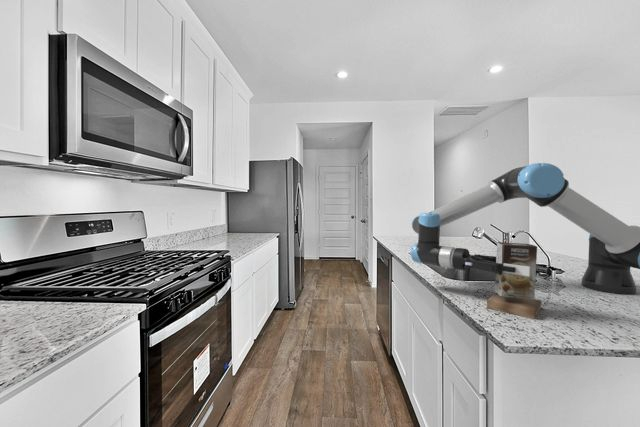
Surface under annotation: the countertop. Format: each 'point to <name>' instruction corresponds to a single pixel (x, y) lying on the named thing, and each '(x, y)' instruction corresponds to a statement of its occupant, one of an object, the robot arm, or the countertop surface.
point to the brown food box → (511, 282)
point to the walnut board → (514, 305)
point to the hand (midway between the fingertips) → (532, 268)
